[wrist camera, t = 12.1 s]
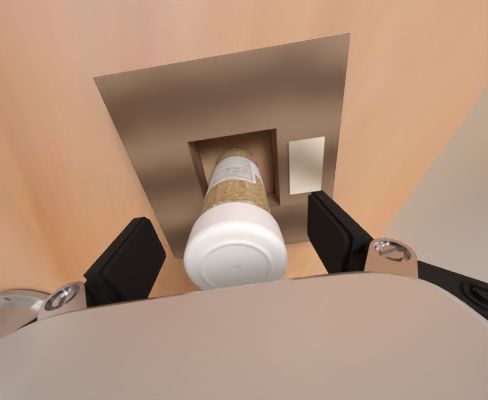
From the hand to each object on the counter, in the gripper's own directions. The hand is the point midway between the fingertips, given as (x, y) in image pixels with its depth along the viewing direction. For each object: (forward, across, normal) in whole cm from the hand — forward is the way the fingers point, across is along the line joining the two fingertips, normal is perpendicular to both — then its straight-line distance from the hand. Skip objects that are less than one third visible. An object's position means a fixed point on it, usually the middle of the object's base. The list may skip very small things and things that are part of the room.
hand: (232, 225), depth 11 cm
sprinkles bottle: (+10, 0, 0) cm, 10 cm away
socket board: (+10, -1, 0) cm, 10 cm away
